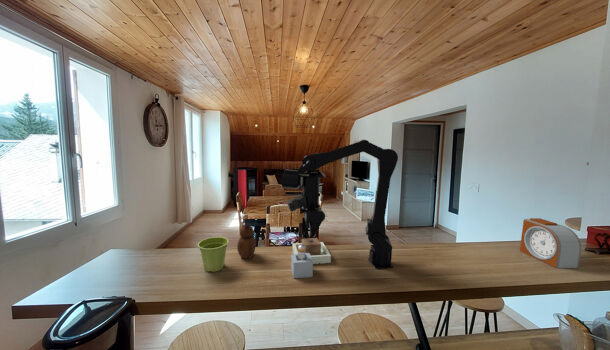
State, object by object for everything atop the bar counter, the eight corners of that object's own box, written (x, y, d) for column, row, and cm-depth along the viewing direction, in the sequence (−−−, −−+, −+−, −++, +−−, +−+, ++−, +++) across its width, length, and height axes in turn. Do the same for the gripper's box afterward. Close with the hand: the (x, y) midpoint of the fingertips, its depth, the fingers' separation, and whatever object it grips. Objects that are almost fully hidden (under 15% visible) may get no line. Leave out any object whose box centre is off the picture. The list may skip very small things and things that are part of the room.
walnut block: (316, 250, 92) (317, 237, 91) (320, 257, 86) (320, 244, 85) (301, 251, 91) (301, 238, 90) (303, 258, 85) (304, 244, 84)
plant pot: (234, 267, 79) (234, 242, 78) (206, 278, 73) (205, 251, 72) (220, 258, 86) (220, 234, 85) (193, 267, 79) (192, 242, 78)
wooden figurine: (250, 261, 84) (249, 219, 82) (235, 259, 85) (234, 218, 83) (258, 252, 90) (257, 214, 89) (243, 251, 92) (243, 213, 90)
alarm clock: (516, 249, 97) (520, 216, 96) (536, 249, 98) (541, 217, 96) (555, 268, 83) (560, 229, 81) (578, 268, 83) (585, 230, 81)
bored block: (309, 267, 80) (309, 252, 80) (312, 276, 75) (312, 261, 74) (291, 268, 79) (291, 254, 79) (293, 278, 74) (293, 262, 73)
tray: (322, 248, 95) (322, 242, 95) (330, 262, 84) (330, 255, 83) (292, 250, 93) (292, 243, 93) (296, 265, 82) (296, 257, 81)
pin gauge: (304, 270, 78) (304, 243, 77) (305, 274, 76) (306, 246, 75) (297, 270, 78) (297, 244, 77) (298, 274, 76) (298, 247, 75)
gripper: (286, 185, 93) (285, 224, 95) (291, 195, 75) (290, 243, 77) (314, 185, 95) (313, 223, 97) (326, 194, 77) (324, 241, 79)
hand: (310, 231), depth 88 cm, fingers open, 9 cm apart
